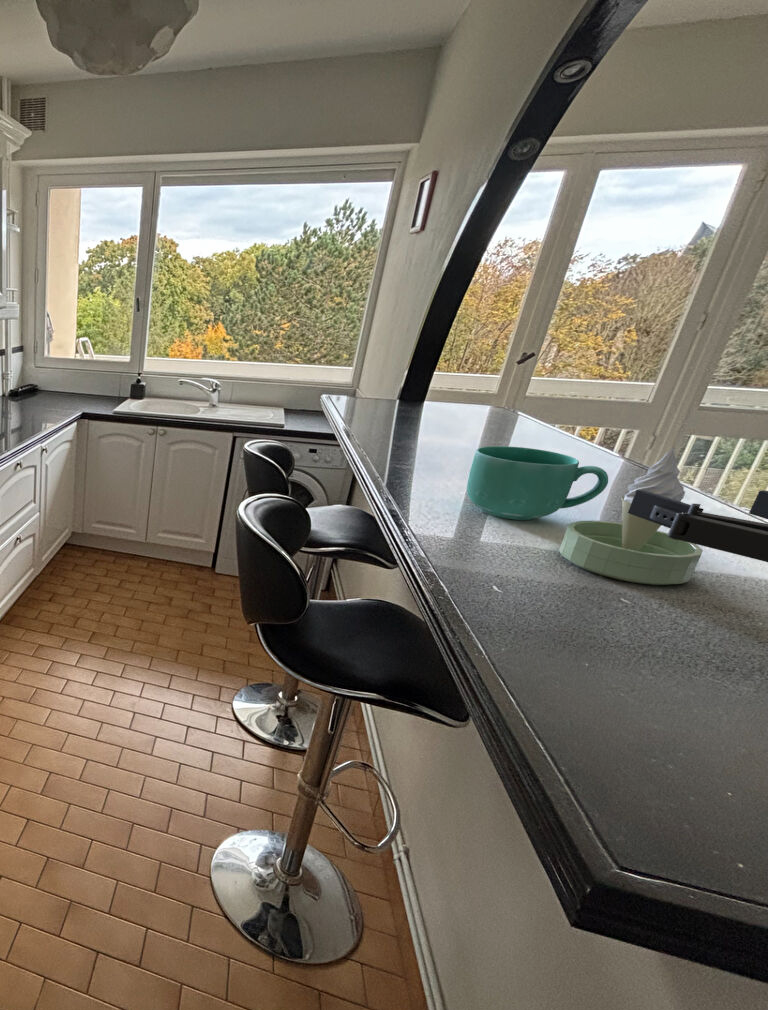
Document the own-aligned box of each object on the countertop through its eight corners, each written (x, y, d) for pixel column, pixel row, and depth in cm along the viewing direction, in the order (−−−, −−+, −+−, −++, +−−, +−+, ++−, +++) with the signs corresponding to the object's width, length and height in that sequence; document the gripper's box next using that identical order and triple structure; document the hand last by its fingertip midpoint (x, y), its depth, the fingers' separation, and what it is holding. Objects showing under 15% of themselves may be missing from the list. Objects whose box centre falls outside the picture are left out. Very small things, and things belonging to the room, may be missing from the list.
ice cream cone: (639, 574, 71) (690, 453, 65) (589, 559, 75) (633, 443, 70) (661, 567, 73) (712, 448, 67) (611, 553, 77) (656, 440, 72)
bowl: (670, 560, 76) (683, 531, 75) (704, 597, 67) (719, 565, 65) (551, 541, 82) (561, 514, 81) (567, 573, 73) (578, 543, 71)
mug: (456, 515, 92) (473, 456, 89) (463, 496, 102) (479, 442, 98) (595, 539, 83) (619, 474, 80) (589, 516, 92) (611, 457, 89)
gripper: (789, 627, 47) (573, 532, 67) (1100, 629, 47) (792, 533, 67) (836, 541, 45) (596, 468, 64) (1167, 543, 45) (825, 469, 64)
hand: (695, 501), depth 66 cm, fingers open, 13 cm apart
